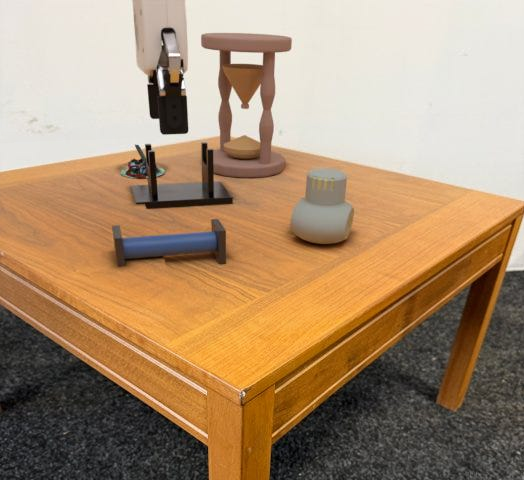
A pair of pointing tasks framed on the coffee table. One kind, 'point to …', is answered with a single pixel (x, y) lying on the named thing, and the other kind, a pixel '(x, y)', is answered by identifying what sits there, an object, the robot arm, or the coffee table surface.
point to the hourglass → (246, 103)
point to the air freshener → (323, 208)
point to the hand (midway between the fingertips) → (168, 125)
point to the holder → (181, 186)
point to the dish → (139, 167)
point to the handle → (171, 244)
